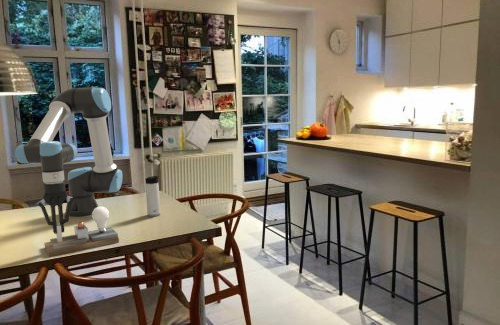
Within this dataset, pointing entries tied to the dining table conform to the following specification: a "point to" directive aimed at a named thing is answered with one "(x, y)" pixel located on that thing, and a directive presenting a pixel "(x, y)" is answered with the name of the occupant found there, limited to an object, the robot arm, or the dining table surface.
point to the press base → (81, 242)
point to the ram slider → (81, 231)
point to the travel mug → (152, 196)
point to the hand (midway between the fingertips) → (59, 240)
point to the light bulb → (100, 217)
